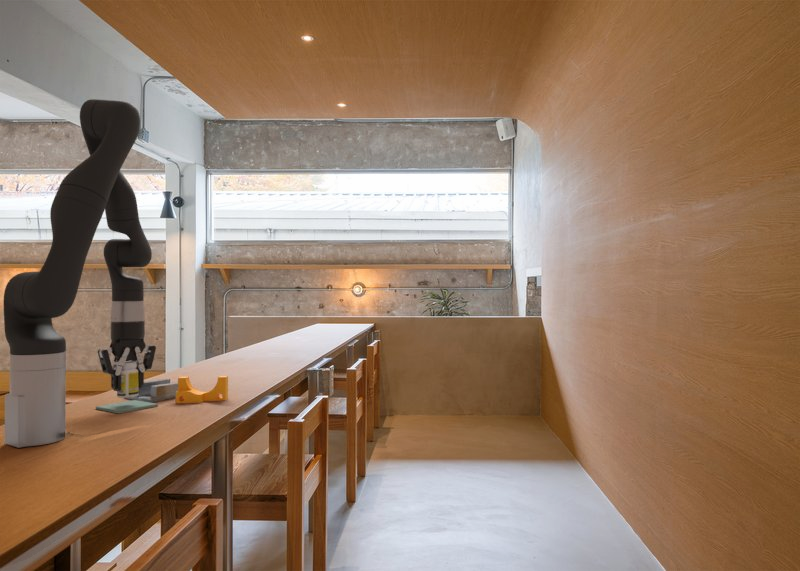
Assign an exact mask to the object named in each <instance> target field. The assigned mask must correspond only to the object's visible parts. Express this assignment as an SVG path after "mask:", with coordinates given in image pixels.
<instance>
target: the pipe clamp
mask: <svg viewBox="0 0 800 571" xmlns="http://www.w3.org/2000/svg"><path fill="white" fill-rule="evenodd" d="M177 382H178V391H176V398H175V404H196V403H199V404H200V403H203V402H209V401H210V402H213V401H215V402H216V401H219V402H221V401H226V400H228V399H229V375H220V376H218V377H217V382H216V384H215V386H214V387H213V388H212V389H210V390H209V391H201V390H199V389H196V388H194V386H193V385H192V384H191V381H190V377H189V376H179V377H178V378H177ZM220 395H221V396H220Z"/></svg>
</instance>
